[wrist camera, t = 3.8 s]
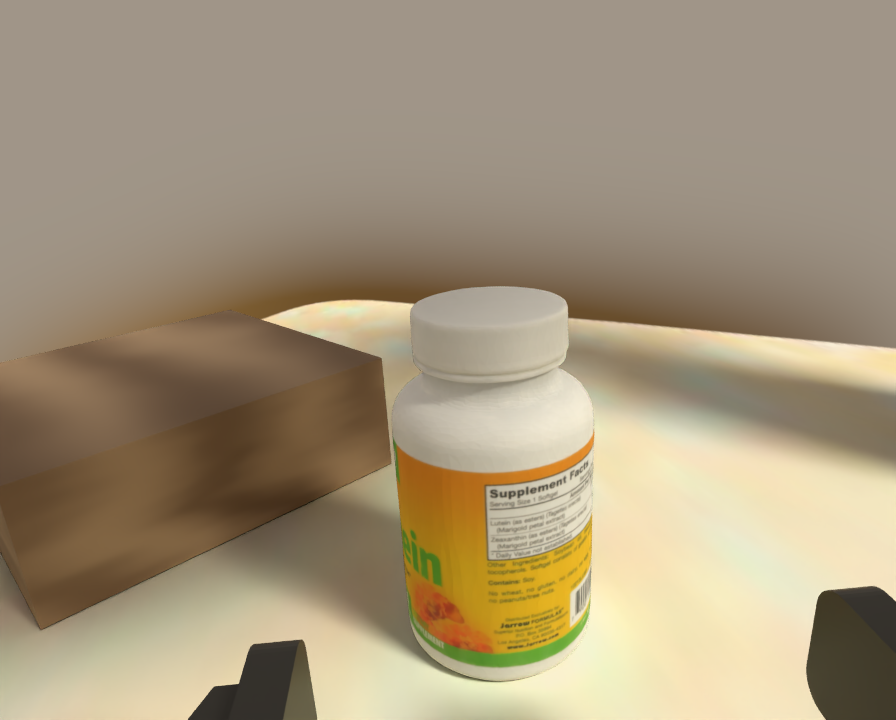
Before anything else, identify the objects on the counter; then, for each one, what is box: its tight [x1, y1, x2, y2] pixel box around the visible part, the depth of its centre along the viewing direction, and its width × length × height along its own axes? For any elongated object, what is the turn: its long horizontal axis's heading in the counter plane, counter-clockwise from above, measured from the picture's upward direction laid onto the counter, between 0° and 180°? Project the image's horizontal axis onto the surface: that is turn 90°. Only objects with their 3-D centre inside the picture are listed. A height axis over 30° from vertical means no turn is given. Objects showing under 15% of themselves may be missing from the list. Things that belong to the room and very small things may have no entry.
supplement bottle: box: [392, 286, 594, 681], centre depth 18 cm, size 5×5×10 cm
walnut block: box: [0, 310, 391, 629], centre depth 28 cm, size 14×14×5 cm
